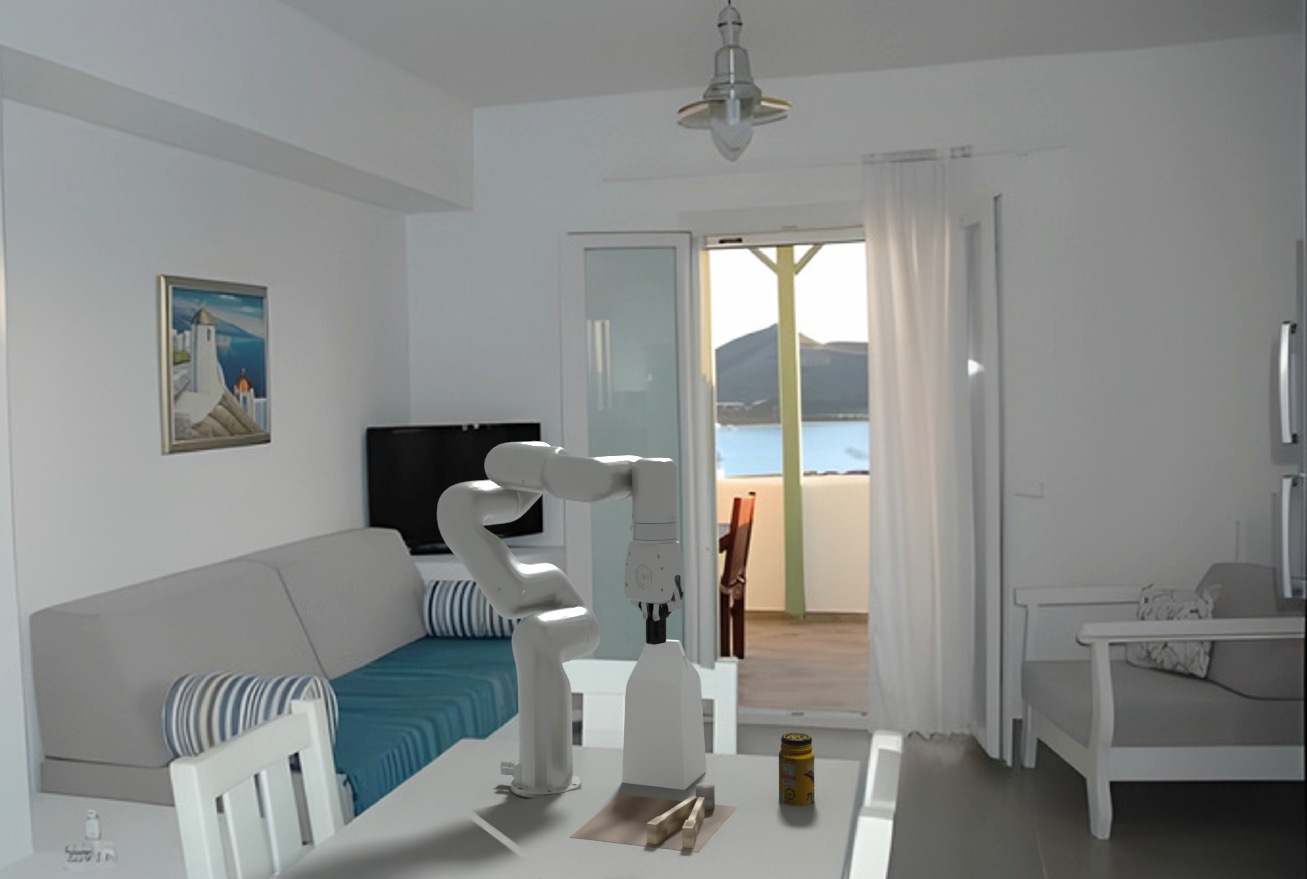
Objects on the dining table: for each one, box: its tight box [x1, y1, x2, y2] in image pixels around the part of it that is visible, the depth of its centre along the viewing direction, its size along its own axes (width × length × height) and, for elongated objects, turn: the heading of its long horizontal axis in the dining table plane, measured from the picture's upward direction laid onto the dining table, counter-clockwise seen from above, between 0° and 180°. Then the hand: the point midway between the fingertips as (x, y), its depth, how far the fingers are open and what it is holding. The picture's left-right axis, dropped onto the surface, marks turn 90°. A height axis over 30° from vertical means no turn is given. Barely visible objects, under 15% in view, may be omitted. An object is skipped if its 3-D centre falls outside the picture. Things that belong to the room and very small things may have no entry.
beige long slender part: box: [682, 782, 716, 848], centre depth 199 cm, size 20×3×4 cm, turn 169°
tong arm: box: [647, 795, 697, 844], centre depth 198 cm, size 15×2×3 cm, turn 151°
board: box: [569, 794, 738, 854], centre depth 201 cm, size 21×22×1 cm
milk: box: [621, 638, 707, 791], centre depth 224 cm, size 12×12×26 cm
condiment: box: [778, 732, 815, 807], centre depth 211 cm, size 7×8×12 cm
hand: (656, 642), depth 205 cm, fingers closed
